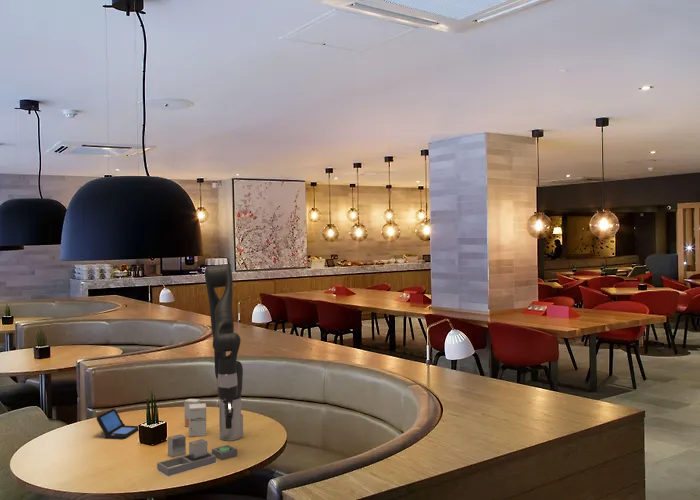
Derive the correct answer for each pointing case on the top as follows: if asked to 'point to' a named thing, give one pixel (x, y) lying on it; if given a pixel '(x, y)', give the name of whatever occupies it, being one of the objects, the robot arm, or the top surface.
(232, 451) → the button housing
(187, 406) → the skincare box
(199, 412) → the supplement box
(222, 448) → the button
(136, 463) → the top surface
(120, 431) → the handheld game console
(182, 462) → the pocket tray
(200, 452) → the seated billet
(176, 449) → the billet
